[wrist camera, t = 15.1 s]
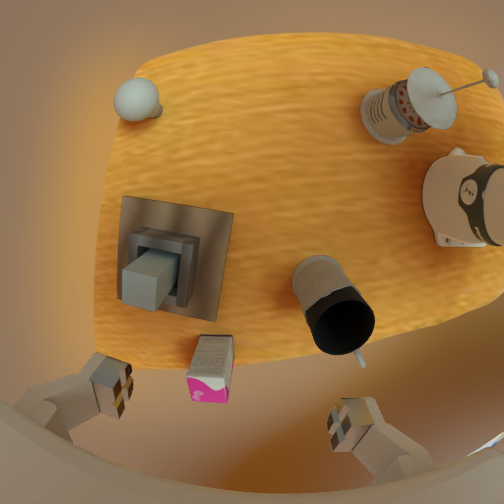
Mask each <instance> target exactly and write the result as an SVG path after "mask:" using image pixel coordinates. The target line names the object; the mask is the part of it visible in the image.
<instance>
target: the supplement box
mask: <svg viewBox="0 0 504 504" xmlns="http://www.w3.org/2000/svg"><path fill="white" fill-rule="evenodd" d="M233 362H234V349H233V339H232V335H201V336H200V338H199V341H198V344H197V347H196V350H195V352H194V355H193V358H192V361H191V364H190V366H189V369H188V372H187V375H186V377H187V382H188V386H189V390H190V394H191V398H192V400H193V401H203V402H217V403H227V401H228V395H229V389H230V382H231V375H232V369H233Z"/></svg>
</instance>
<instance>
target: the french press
mask: <svg viewBox="0 0 504 504" xmlns="http://www.w3.org/2000/svg"><path fill="white" fill-rule="evenodd" d="M482 74H483V79H484V80H481V81H478V82H475V83H471V84H468V85H465V86H462V87H459V88H456V89H454V90H451V88H450V86H449V85H448V83H447V82H446V81H445V80H444V79H443V78H442V77H441V76H440V75H439V74H437V73H436V72H434V71H433V70H431V69H429V68H428V67H423V68H422V67H421V68H418V69H415V70H413V71H412V72H411V74H410V75H409V77H408V79H407V80H404V81H403V80H402V81H398V82H396V83H394V84H395V85H391V86H392V87H391V86H390V87H388V88H386V89H385V90H384V89H375V90H372V91H370V92H368V93H367V94H366V95H365V96H364V98H363V99H362V102H361V107H360V113H361V119H362V122H363V124H364V126H365V128H366V129H367V131H368V132H369V133H370V134H371V135H372V136H373V137H374V138H375V139H376V140H378V141H380V142H382V143H385V144H398V143H400V142H402V141H404V140H405V139H406V137H407V136H408V135H409V134H410V135H412V134H417V133H421V132H423V131H425V130H427V129H428V128H430V127H433V128H435V129H443V130H445V129H447V128H449V127H451V126H452V125H453V123H454V121H455V119H456V114H457V105H456V101H455V96H454V94H453V92H454V91H457V90H460V89H463V88H467V87H470V86H473V85H476V84H479V83H483V82H485V83H486V84H487V85H488V86H489V87H490V88H496V87H497V86H498V85H499V84H498V77H497V75H496V74H495V73H494V72H493V71H492V70H489V69H485V70H484V71H483V72H482ZM413 126H414V128H413ZM412 128H413V129H412ZM415 128H416V129H415ZM411 129H412V130H411ZM414 129H415V130H414ZM417 129H419V130H420V129H422V130H421V131H419V130H417ZM410 130H411V131H410ZM413 130H414V131H413ZM416 130H417V131H416ZM415 131H416V132H415ZM418 131H419V132H418Z"/></svg>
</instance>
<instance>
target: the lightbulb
mask: <svg viewBox="0 0 504 504" xmlns="http://www.w3.org/2000/svg"><path fill="white" fill-rule="evenodd" d="M114 108H115V111H116V113H117V114H118V115H119V116H120V117H121V118H122V119H124V120H127V121H131V122H133V121H141V120H143V119H145V118H149V117H150V118H157V117H159V116H160V115H161V113H162V106H161V105H160V104H159V93H158V89H157V87H156V86H155V84H154V83H153V82H151V81H150V80H148V79H145V78H133V79H130V80H128V81H126V82H125V83H123V84H122V85H121V86H120V87H119V88H118V90H117V92H116V94H115V97H114Z"/></svg>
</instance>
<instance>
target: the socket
mask: <svg viewBox="0 0 504 504" xmlns="http://www.w3.org/2000/svg"><path fill="white" fill-rule="evenodd" d="M233 215H234V214H233V213H227V212H222V211H216V210H211V209H205V208H199V207H193V206H187V205H181V204H175V203H169V202H163V201H157V200H150V199H144V198H137V197H130V196H122V205H121V215H120V228H119V243H118V273H117V296H118V299H120V300H122V270H123V269H124V268H125V267H127V266H128V265H129V264H131V263H132V262H133V261H135V260H136V259H137V258H139V257H140V256H142V255H143V254H144V253H146V252H147V251H148V250H150V249H151V248H154V249H158V250H163V251H168V252H173V253H178V254H181V258H180V267H179V277H178V281H177V282H176V284H175V285H174V286H173V288H172V289H171V291H170V292H169V293H168V295H167V296H166V297H165V299H164V300H163V302H162V303H161V304H160V306H159V307H158V310H163V311H167V312H171V313H175V314H180V315H184V316H189V317H193V318H198V319H203V320H208V321H213V322H215V321H216V316H217V310H218V303H219V297H220V291H221V285H222V279H223V273H224V267H225V261H226V255H227V249H228V243H229V238H230V232H231V227H232V221H233Z"/></svg>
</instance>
